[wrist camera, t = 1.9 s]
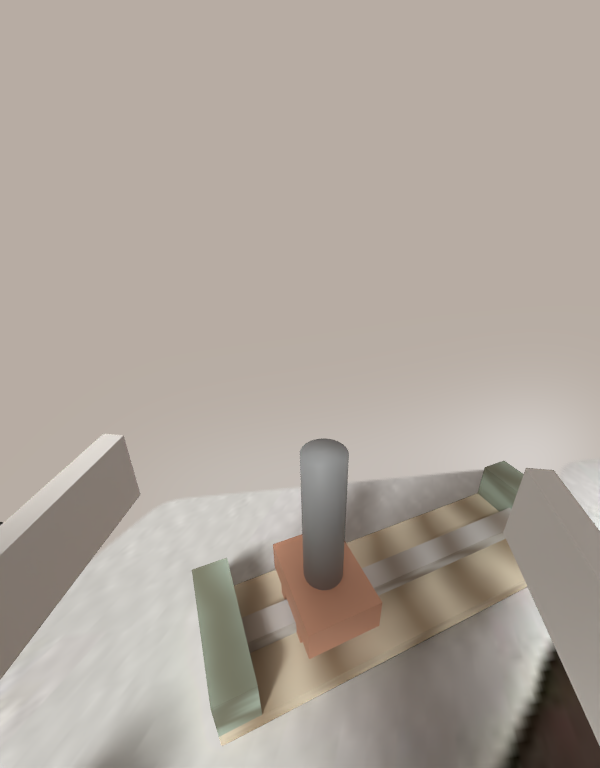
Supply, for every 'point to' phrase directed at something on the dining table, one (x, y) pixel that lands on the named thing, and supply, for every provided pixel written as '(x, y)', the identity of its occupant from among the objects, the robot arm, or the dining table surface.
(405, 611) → the rail track
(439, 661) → the dining table surface
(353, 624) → the carriage
